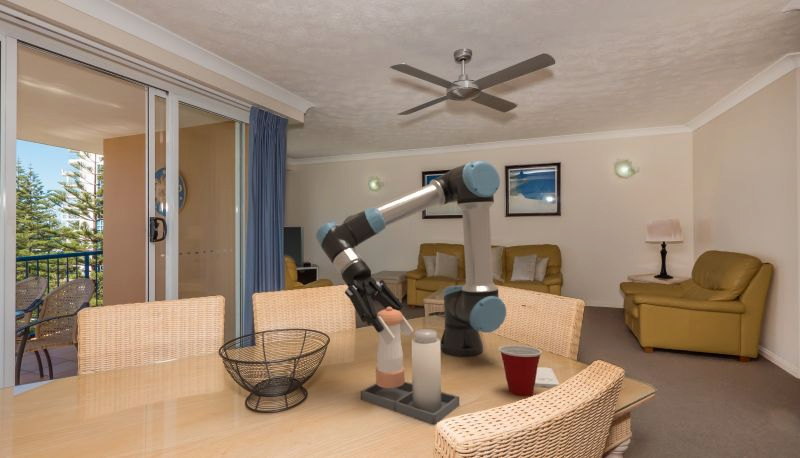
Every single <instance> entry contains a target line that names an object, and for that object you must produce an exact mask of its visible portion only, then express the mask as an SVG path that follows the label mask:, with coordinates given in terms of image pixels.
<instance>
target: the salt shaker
mask: <svg viewBox="0 0 800 458" xmlns="http://www.w3.org/2000/svg"><path fill="white" fill-rule="evenodd" d="M440 342H441V339H440V338H439V337H438V333H437V330H435V329H429V328H423V329H422V328H420V329H417V330H414V338H412V339H411V374H412V375H411V376H412V378H411V379H412V380H411V383H412V390H413V407H415V408H418V409H421V410H424V411H427V412H430V413H433V414H434V413H435V412H437V411H438V410H439V409H441V408H442V405H441V392H442V366H441V363H442V361H441V359H442V358H441V356H442V355H441V354H442V351H441V350H440Z"/></svg>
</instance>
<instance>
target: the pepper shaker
mask: <svg viewBox="0 0 800 458" xmlns="http://www.w3.org/2000/svg"><path fill="white" fill-rule="evenodd" d="M400 311H401V310H400ZM400 311H398V310H395V309H392V307H387V308H385V309H382V310H380V311H378V312H376V314H377V318H378V316H381V318H382V319H383V321H384V322H385V323H386V325H387V326H388V328H389V329H390V331H391V332H392V334H393V335H394V336H395V338H394V339H393V341H392V342H391V343H390V344H388V345H387V344H386V342H385V341H384V339H383V338H382V336H381V335H380V333H378V344H377V353H376V365H377V366H376V368H375V384H377V385H378V386H380V387H383V388H396V387H400V386H402V385H403V384H404V383H405V382H406V381H405V380H406V379H405V378H406V377H405V367H404V353H403V352H404V351H403V348H402V342H401V329H400V323H401V322H402V321H403V315H404V314H403V313H402V311H401V312H400ZM402 314H403V315H402Z"/></svg>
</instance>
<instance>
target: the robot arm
mask: <svg viewBox="0 0 800 458" xmlns="http://www.w3.org/2000/svg"><path fill="white" fill-rule="evenodd" d="M500 185H501V178H500V174H499V172H498V170H497V168H495V167H494V166H493V165H492V164H491V163H490V162H488V161H486V160H476V161H475V160H474V161H470V162H468V163H466V164H462V165H461V166H456V167H455V168H452V169H450V170H449V171H447V172H446V173H444V174H441V175H440V176H438V177H436V178H433V179H431V180H430V181H429V184H426V185H424V186H421V187H419V188H417V189H414V190H412V191H409V192H408V193H404V194H402V195H399V196H398V197H395V198H391V199H390V200H387V201H385V202H383V203H380V204H378V205H375V206H372V207H370V208H368V209H365V210H362V211H360V212H359V213H355V214H352V215H349V216H347V217H346V218H345V219H344V220H343V222H342V223H341V224H338V223H337V222H335V221H330V222H326V223H324V224H323V225H321V226H320V227H319V228H318V229H317V231H316V234H315V239H316V241H317V243H318V244H319V246H320V248H321V250H322V251H323V252H324V254H325V255H326V257H327V258H328V259H329V261H330V262H331V264H333V266H334V267H335V269H336V271H337V272H338V274H339V275H340V276H341V278H342V281H344V283H345V285H346V286H347V288H346V289H345V291H344V294H345V295H346V296H347V297H348V298H349V299H350V301H351V303H352V305H353V307H354V309H355V311H356V312H357V314H358V316H359V318H360V320H361V321H362V322H363V323H366V324H367V325H368V326H371V325H372V326H373V327H374V329H375V331H376V332H377V333H378V334H379V333H380V335H381V336H382V338H383V339H384V341H385V342H386V344H387V345H388V344H390V343H391V342H392V341H393V339H394V338H395V336H394V335H393V334H392V332H391V331H390V329H389V328H388V326H387V325H386V323H385V322H384V321H383V319H382V318H381V316H378V318H377V311H376V308H375V305H374V303H373V301H375V300H376V301H377V303H379V304H380V305H381V306H382V307H383V308H385V309H386V308H387V307H392V309H395V310H398V311H400V312H401V313H402V311H401V310H402V309H403V307H404V305H403V303H402V302H401V301H400V300H399V299H398V297H396V295H395V294H394V293H393V292H392V291H391V289H390V288H389V287H388V286H387V284H386V283H385V281H384V279H380V281H376V280H375V279H374V278H373V277H372V270H371V269H370V267H369V266H368V264H367V263H366V262H365V260H364V259H363V257H362V256H361V254H360V253H359V252H358V250H357V249H356V247H357V246H359V245H361V244H362V243H364V242H366V241H367V240H369V239H371V238H373V237H375V236H376V235H379V234H380V232H382V231H384V230H385V229H386V227H387V226H390V225H392V224H395V223H398V222H399V221H402V220H405V219H407V218H409V217H411V216H413V215H416V214H418V213H420V212H423V211H425V210H428V209H431V208H432V207H435V206H437V205H438V206H440V207H442V206H444V205H446V204H450V203H453V202H457V206H458V207H459V208H460V209H461V212H462V226H463V228H462V229H463V246H464V249H463V250H464V266H465V284H464V285H463V284H461V285H449V286H446V287H445V288H444V290H443V291H444V292H443V305H444V306H443V307H444V309H443V310H444V329H443V332H442V336H441V339H440V352H441V353H444V354H446V355H450V356H455V357H473V356H478V355H480V354H482V353H483V352H484V343H483V341H482V337H481V334H480V332H482V333H492V332H495V331H497V330H498V329H500V327H501V325H503V324H504V322H505V320H506V317H507V307H506V304H505V303H504V302H503V299H501V298H500V297H499V287H498V286H497V285H496V284H495V283H494V278H493V275H494V274H493V255H492V238H491V237H492V236H491V217H490V216H491V214H490V213H491V211H490V209H491V207H492V206H493V205H494V204H495V199H494V198H495V197H494V195H495V194H496V193H497V191H498V190H499V189H500V188H499V187H500ZM402 315H403V321H402V322H401V323H400V332H402V333H403V336H404V337H405V338H409V336H410V335H412V333H413V332H415V330H414V329H413V327H412V325H410V323H409V322H408V320H407V318H406V317H405V315H404V314H403V313H402Z"/></svg>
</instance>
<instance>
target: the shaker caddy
mask: <svg viewBox="0 0 800 458" xmlns="http://www.w3.org/2000/svg"><path fill="white" fill-rule="evenodd" d="M360 400H362V401H364V402H367V403H371V404H374V405H376V406H379V407H382V408H385V409H388V410H391V411H393V412H397V413H399V414H402V415H405V416H407V417H411V418H414V419H415V420H416V419H417V420H419V421H421V422H425V423H428V424H431V425H433V426H434V425H437V424H438V423H439V422H440V421H442V420H443V419H444V418H445V417H447V416H448V415H449V414H451V413H452V412H453V411H454V410H455V409H457V408H459V406H460V396H457V395H454V394H452V393H447V392H443V391H441V405H442V408H441V409H439V410H438V411H437V412H435V413H434V414H433V413H430V412H427V411H424V410H421V409H418V408H415V407H413V390H412V382H407V381H405V383H404V384H403V385H402V386H400V387H396V388H383V387H380V386H378V385H377V384H376V383H373V384H372V385H370V386H368V387H366V388H363V389H362V390H360ZM437 422H438V423H437Z"/></svg>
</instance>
